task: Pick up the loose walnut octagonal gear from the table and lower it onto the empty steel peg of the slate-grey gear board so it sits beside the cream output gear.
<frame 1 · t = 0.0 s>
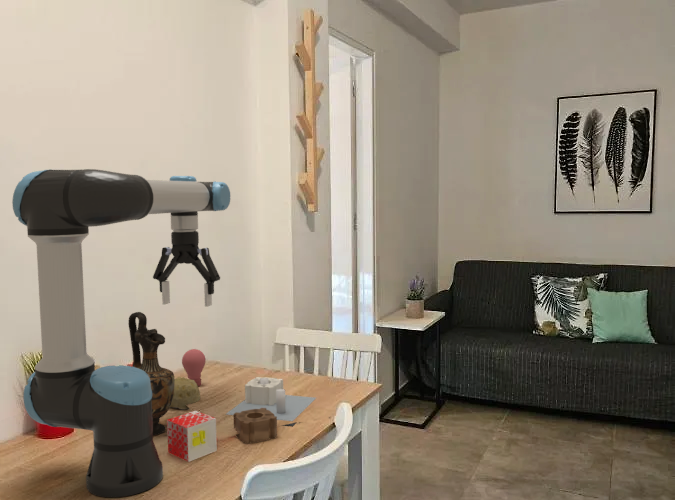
hand: (187, 304, 178), 28 cm above the table, fingers open, 13 cm apart
output gear: (264, 399, 176), resting on gear board
light bulb: (194, 388, 192), on the table
decorative item: (183, 405, 176), on the table
gear board: (272, 410, 171), on the table
vase: (151, 430, 158), on the table
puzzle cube: (192, 452, 144), on the table
walnut gear: (255, 434, 154), on the table
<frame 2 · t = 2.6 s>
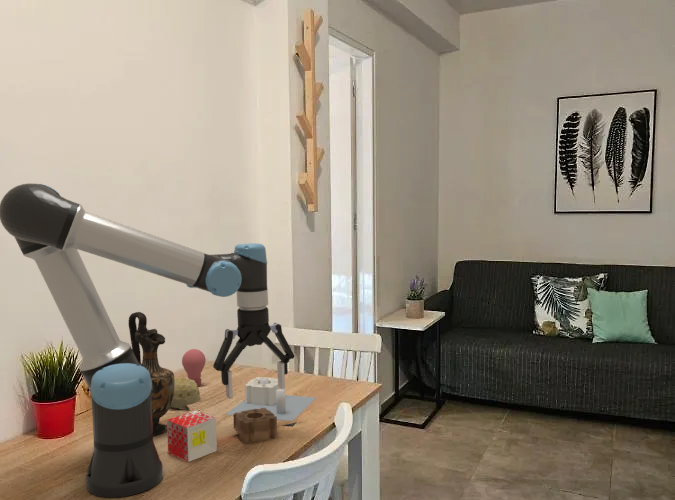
hand: (256, 392, 153), 11 cm above the table, fingers open, 13 cm apart
nothing on the table moved.
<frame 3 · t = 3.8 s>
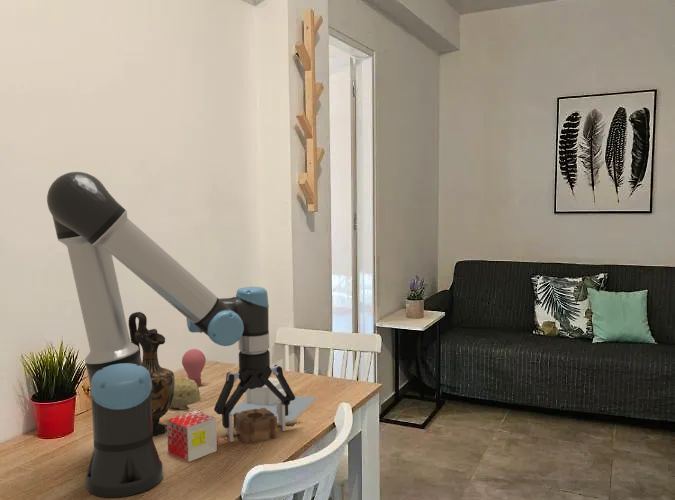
hand: (256, 434, 154), 0 cm above the table, fingers open, 13 cm apart
nothing on the table moved.
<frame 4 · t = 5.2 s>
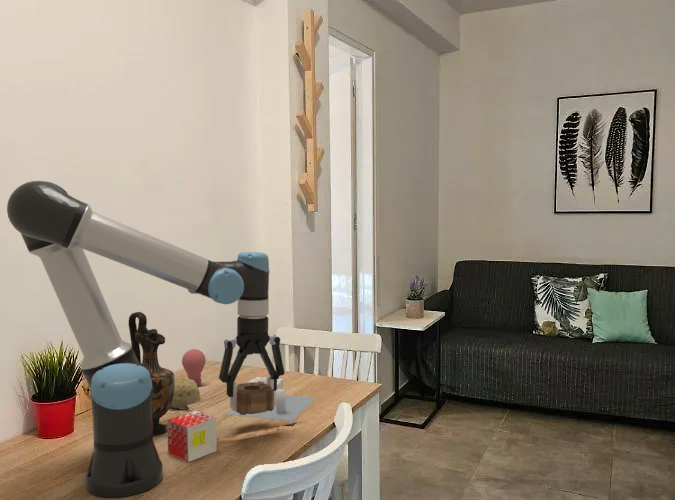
hand: (251, 406, 153), 7 cm above the table, fingers closed on walnut gear, 9 cm apart
walnut gear: (251, 407, 153), point 7 cm above the table, touching gripper
everything else where it was.
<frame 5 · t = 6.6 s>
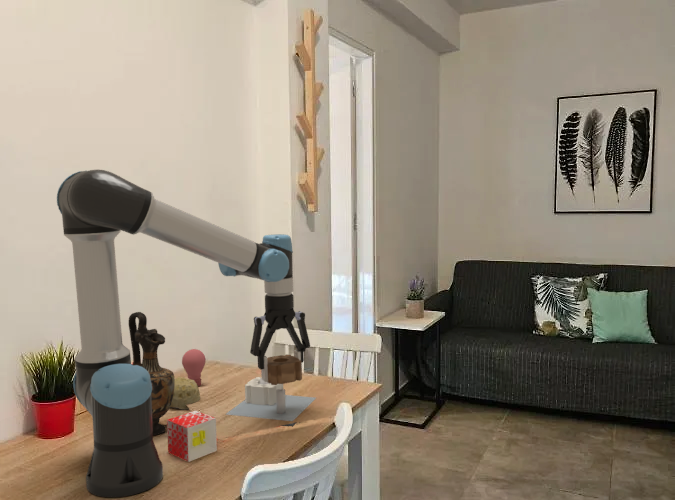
hand: (281, 377, 165), 11 cm above the table, fingers closed on walnut gear, 9 cm apart
walnut gear: (281, 378, 165), point 11 cm above the table, touching gripper
everything else where it was.
when the fingers open (3 cm above the table, at t = 8.5 s): walnut gear drops 1 cm, resting on gear board.
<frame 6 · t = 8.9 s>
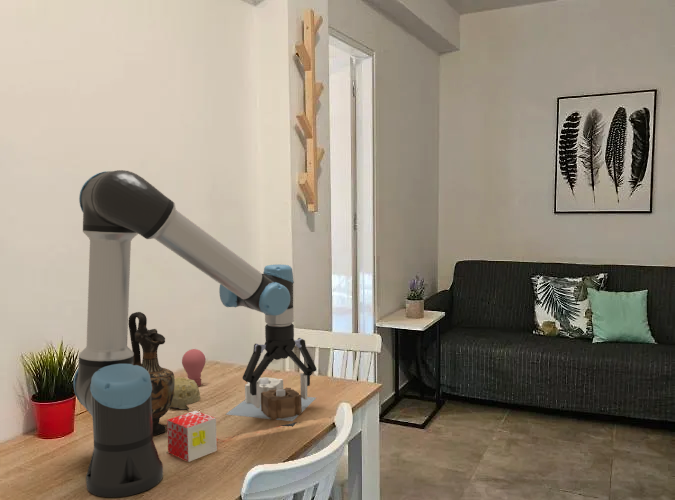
hand: (280, 402, 165), 4 cm above the table, fingers open, 13 cm apart
walnut gear: (281, 412, 165), point 1 cm above the table, touching gear board
everything else where it was.
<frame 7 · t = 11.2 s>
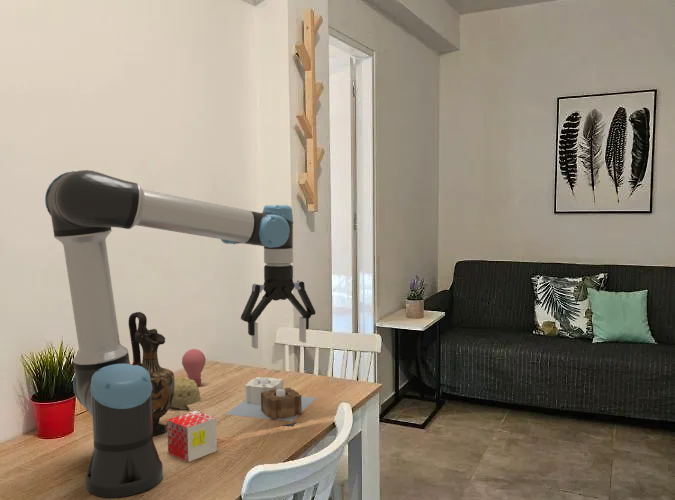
hand: (279, 344, 164), 20 cm above the table, fingers open, 13 cm apart
nothing on the table moved.
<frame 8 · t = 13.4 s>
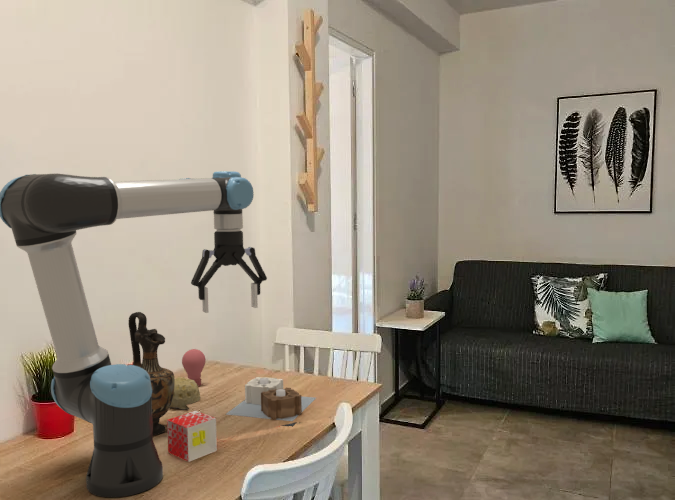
hand: (230, 309, 166), 29 cm above the table, fingers open, 13 cm apart
nothing on the table moved.
at the end: walnut gear 0.1 cm from the target spot on the gear board, point 1.5 cm above the gear board's base; walnut gear tilted 0°; the gripper is holding nothing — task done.
